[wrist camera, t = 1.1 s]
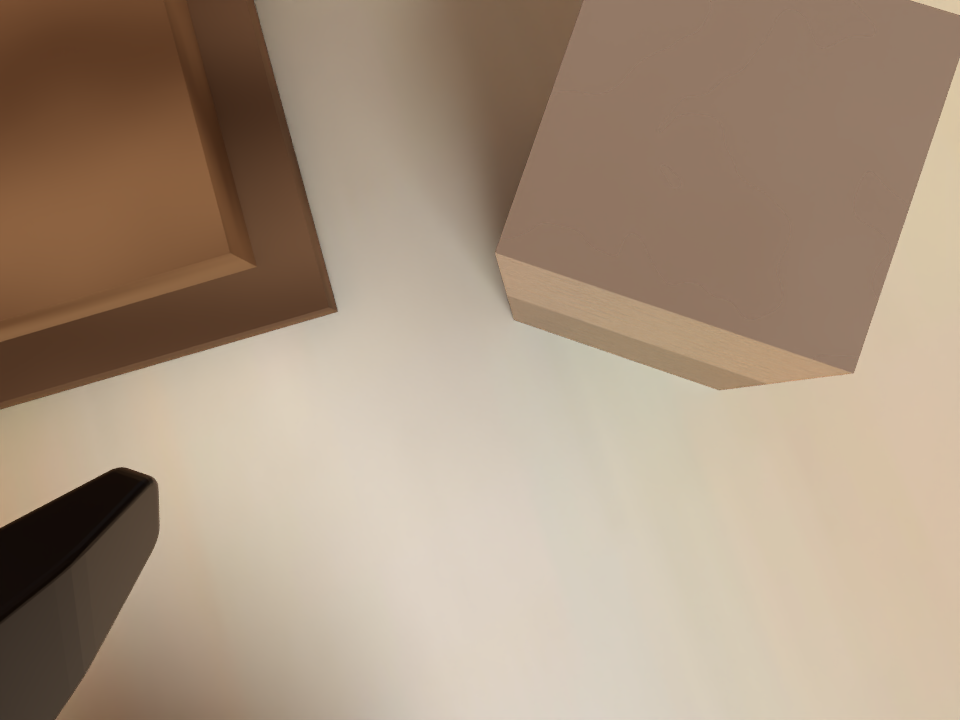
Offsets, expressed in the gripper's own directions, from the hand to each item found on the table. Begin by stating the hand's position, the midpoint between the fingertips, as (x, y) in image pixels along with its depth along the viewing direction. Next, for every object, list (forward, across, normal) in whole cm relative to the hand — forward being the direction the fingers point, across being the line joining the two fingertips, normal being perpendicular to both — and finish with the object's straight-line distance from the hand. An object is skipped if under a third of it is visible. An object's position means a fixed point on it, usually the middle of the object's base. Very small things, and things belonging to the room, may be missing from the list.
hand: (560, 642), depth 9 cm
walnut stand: (+14, +16, +5) cm, 22 cm away
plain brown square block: (+15, -1, +4) cm, 16 cm away
